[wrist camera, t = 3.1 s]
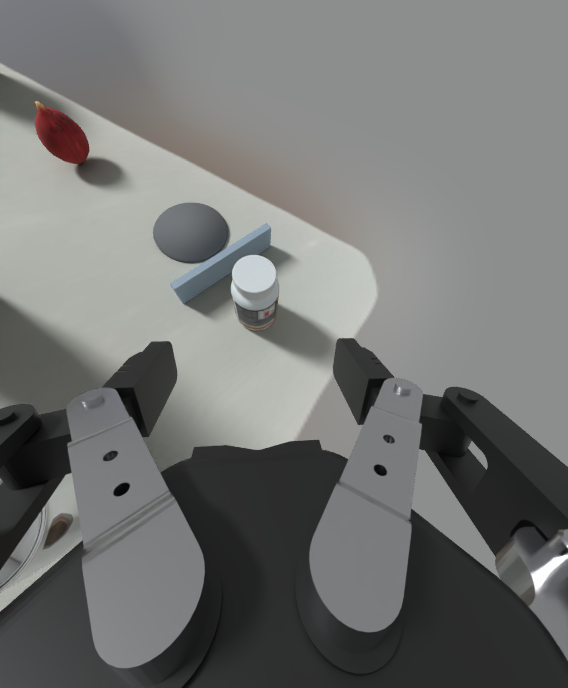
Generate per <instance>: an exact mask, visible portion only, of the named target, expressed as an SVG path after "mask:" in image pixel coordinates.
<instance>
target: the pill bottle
mask: <svg viewBox="0 0 568 688" xmlns="http://www.w3.org/2000/svg"><path fill="white" fill-rule="evenodd" d="M232 278H233V281H232V284H231V294H232V298H233V302H234V306H235V311H236V315H237V318H238V320H239V322H240V323H241V324H242V325H243V326H244V327H246V328H248V329H250V330H263V329H266V328H268V327H269V326H270V325H271V324H272V323H273V322H274V320H275V318H276V314H277V307H278V298H279V282H278V280H277V273H276V269H275V267H274V265H273V264H272V262H271V261H270V260H268V259H267V258H265V257H263V256H259V255H249V256H245V257H243V258H241V259H240V260H238V261H237V262H236V264H235V265H234V267H233V270H232Z"/></svg>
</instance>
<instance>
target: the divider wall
mask: <svg viewBox="0 0 568 688" xmlns="http://www.w3.org/2000/svg"><path fill="white" fill-rule="evenodd" d="M270 239H271V227H270V226H269V225H268V224H267V223H266V224H264V225H263V226H261V227H260V228H258V229H256V230H255V231H253V232H252V233H250V234H248V235H247V236H245V237H244V238H242V239H240V240H239V241H237V242H236V243H234V244H232V245H231V246H229V247H228V248H226V249H224V250H223V251H221V252H220V253H218V254H217V255H215V256H213V257H212V258H210V259H209V260H207V261H205V262H204V263H202V264H201V265H199V266H197V267H196V268H194V269H193V270H191V271H189V272H188V273H186V274H185V275H183V276H181V277H180V278H178V279H177V280H175V281H173V282H172V283H170V286H171V287H172V289H173V290H174V292H175V293H176V295H177V296H178V298H179V299H180V300H181V301H182V303H183V304H185V303H186V302H188V301H189V300H191V299H192V298H194V297H195V296H197V295H198V294H200V293H201V292H203V291H204V290H206V289H207V288H209V287H210V286H212V285H213V284H215V283H216V282H218V281H219V280H221V279H222V278H224V277H225V276H227V275H228V274H230V273H231V272H232V270H233V267H234V265H235V264H236V262H237V261H238V260H240V259H241V258H243V257H245V256H249V255H258V254H260V253H261V252H263V251H264V250H266V249H267V248H269V247H270Z"/></svg>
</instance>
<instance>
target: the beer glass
mask: <svg viewBox="0 0 568 688" xmlns="http://www.w3.org/2000/svg"><path fill="white" fill-rule="evenodd" d="M2 482H3V481H2V480H1V479H0V485H1V484H2ZM82 540H83V539H82V533H81V527H80V520H79V514H78V508H77V502H76V496H75V490H74V484H73V478H72V473H70V474H67V475H65V477H64V478H63V480H62V481H61V483H60V484H59V486H58V487H57V489H56V490H55V491H54V493H53V494H52V496H51V497H50V499H49V500H48V502H47V503H46V505H45V506H44V508H43V509H42V510H41V512H40V513H39V515H38V516H37V518H36V519H35V521H34V522H33V524H32V525H31V526H30V528H29V529H28V531H27V532H26V534H25V535H24V537H23V538H22V540H21V541H20V543H19V544H18V545H17V547H16V548H15V550H14V551H13V553H12V554H11V556H10V557H9V559H8V560H7V561H6V563H5V564H4V566H3V567H2V569H1V570H0V593H1V592H2V591H4V590H6V589H7V588H9V587H11V586H13V585H14V584H16V583H18V582H20V581H22V580H23V579H25V578H27V577H29V576H30V575H32V574H34V573H36V572H37V571H39V570H41V569H42V568H44V567H46V566H47V565H49V564H50V563H52V562H53V561H55V560H57V559H58V558H60V557H61V556H63V555H64V554H65V553H67V552H68V551H69V550H71V549H72V548H74V547H75V546H76V545H77V544H79V543H80V542H81V541H82Z"/></svg>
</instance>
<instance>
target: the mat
mask: <svg viewBox="0 0 568 688" xmlns="http://www.w3.org/2000/svg"><path fill="white" fill-rule="evenodd" d="M153 235H154V239H155V242H156V244H157V246H158V247H159V249H160V250H161V251H162V252H163V253H164V254H165V255H167V256H168V257H170V258H172V259H174V260H177V261H182V262H198V261H202V260H206V259H208V258H210V257H212V256H214V255H215V254H216V253H218V252H219V251H220V250H221V248H222V247H223V246H224V244H225V242H226V239H227V226H226V223H225V220H224V219H223V217H222V216H221V215H220V213H218V212H217V211H216V210H215V209H213V208H211V207H209V206H207V205H204V204H200V203H182V204H178V205H175V206H173V207H171V208H169V209H167V210H166V211H164V212H163V213H162V214H161V215H160V216H159V218H158V219H157V221H156V223H155V225H154V230H153Z"/></svg>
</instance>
